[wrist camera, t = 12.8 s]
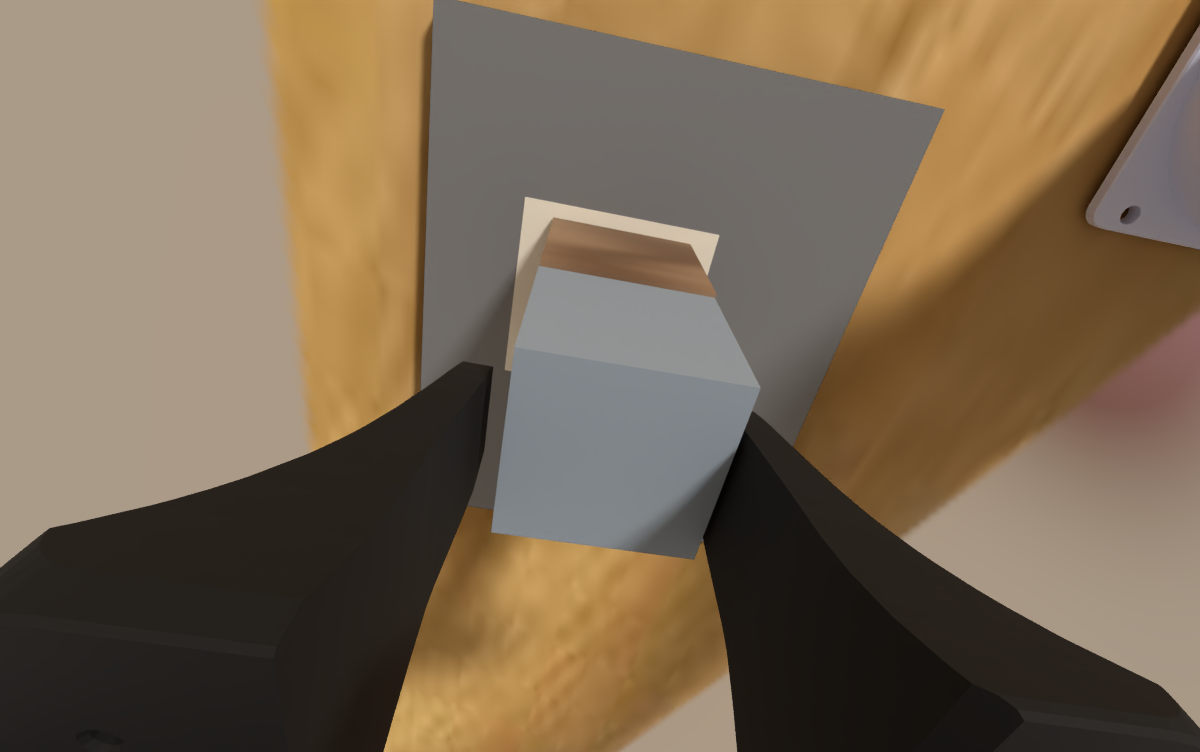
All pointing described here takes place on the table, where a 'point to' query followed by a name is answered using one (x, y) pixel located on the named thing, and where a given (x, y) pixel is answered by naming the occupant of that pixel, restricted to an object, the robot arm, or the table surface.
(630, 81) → the baseplate
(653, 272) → the walnut block
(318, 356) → the table surface
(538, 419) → the slate block
